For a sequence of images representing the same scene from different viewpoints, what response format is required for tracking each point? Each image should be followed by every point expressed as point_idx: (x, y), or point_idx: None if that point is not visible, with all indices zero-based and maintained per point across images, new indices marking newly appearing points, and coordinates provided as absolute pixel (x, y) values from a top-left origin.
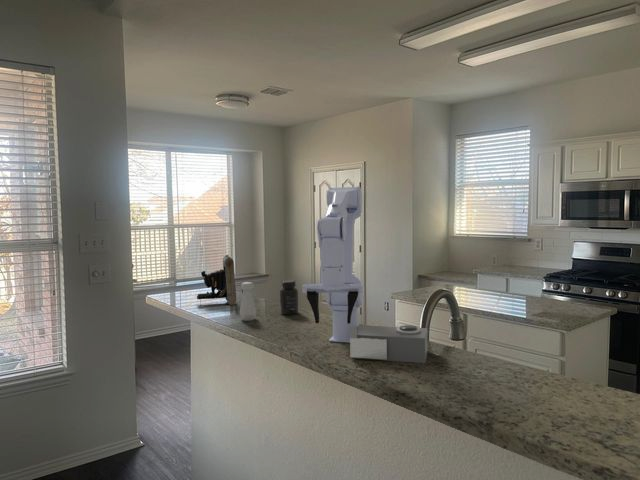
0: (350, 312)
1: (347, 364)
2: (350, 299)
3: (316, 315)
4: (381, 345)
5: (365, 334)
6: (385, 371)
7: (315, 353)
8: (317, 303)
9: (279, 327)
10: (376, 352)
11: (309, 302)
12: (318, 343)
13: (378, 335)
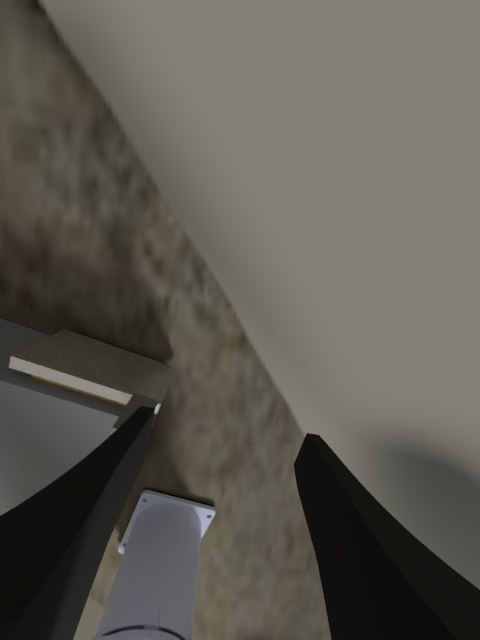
0: (105, 448)
1: (191, 329)
2: (11, 567)
3: (335, 465)
4: (50, 353)
5: (93, 419)
6: (82, 246)
7: (265, 428)
8: (355, 577)
9: (316, 608)
10: (85, 348)
11: (452, 570)
12: (244, 498)
13: (38, 398)
